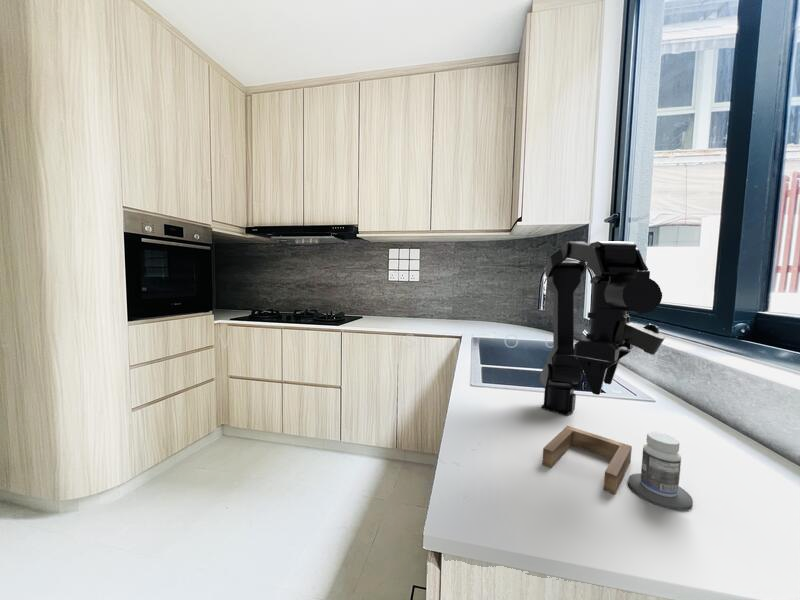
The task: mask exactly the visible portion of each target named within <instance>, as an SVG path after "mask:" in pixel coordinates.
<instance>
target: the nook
mask: <svg viewBox="0 0 800 600" xmlns="http://www.w3.org/2000/svg"><path fill="white" fill-rule="evenodd" d="M572 446H573V447H577V448H580V449H583V450H585V451H589V452H591V453H594V454H597V455H600V456H603V457H606V458H608V459H611V460H610V462H609V464H608V465H607V467H606V469H605V471H604V478H603V479H604V480H603V487H602V488H603V490H604V491H606V492H609V493H610V494H614V495H616V494H617V492H618V489H619V487H620V485H621V483H622V481H623V479H624V476H625V474H626V472H627V470H628V468H629V466H630V465H631V459H632V450H633V449H632V445H629V444H627V443H623V442H620V441H617V440H614V439H611V438H607V437H606V436H601V435H598V434H594V433H592V432H588V431H585V430H582V429H580V428H576V427H574V426H570V425H566V426H565V427H564V428H563V429H562V430H561V431H560V432H559V433H558V434H557V435H555V436H554V437H553V439H552V440H550V441H549V442H548V443H547V444H546V445H545V446H544V447H543V449H542V459H541V460H542V463H541V465H544V466H546V467H549V468H553V467H554V466H555V465H556V464H557V463H558V461H559V460H560V459H561V458H562V457H563V456H564V455H565V454H566V453H567V451H569V449H570V448H571V447H572Z"/></svg>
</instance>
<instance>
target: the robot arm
mask: <svg viewBox="0 0 800 600" xmlns="http://www.w3.org/2000/svg"><path fill="white" fill-rule="evenodd" d="M637 246H638V245H637V244H636V243H635V242H633V241H602V240H601V241H594V242H591V243H589V242H586V241H566V242H564V243H563V245H562V247H561V248H560V249H559V250H557V251H556V252H555V253H553V254H552V255H550V256H549V259H548V261H547V263H546V265H545V269H544V275H545V277H546V283H547V286H548V287H549V289H550V290H551V292H552V293H553V347H552V349H551V350H550V352H549V353H548V355H547V356H546V362H545V364H544V366H543V368H542V370H541V372H540V373H539V380H540V383H541V384H542V386H544V394H543V395H544V397H543V404H541V406H540V408H541V409H543V410H548V411H551V412H554V413H558V414H559V415H560V414H561V415H564V416H569V415H570V414H571V413H572V412H573V411H575V410H576V399H577V394H575V393H574V391H575V390H577V391H580V390H581V387H582V384H583V380H584V377H585V379H586V381H587V383H588V386H589V388H590V390H591V393H592V394H593V395H597V396H598V395H600V394H601V393H602V389H603V384H607V385H612V382H613V379H614V376H615V374H616V371H617V369H618V366H619V363H620V361H621V359H622V358H623V357H625V356H627V355H628V354H630V353H631V350H632V349H633V348H634V347H636V348H639V349H640V350H642V351H643V352H644V353H646V354H649V355H652V356H654V355H655V354H656V353H657V352H658V350H659V349H660V347H661V345H662V343H663V342H664V340H665V339H666V337H665V335H664V334H660V329H659V326H657V325H655V324H652V323H648V324H647V325H644V326H641V325H639V324H635V323H632V322H631V316H630V315H629V313H636V314H648V313H650V312H652V311H654V310H655V309H657V308H658V306H659V305H660V304H661V302H662V299H663V291H662V290H661V287H660V285H659V284H658V283H657V282H656V281H655V280H653V279H652V278H651V275H650V274H651V271H650V270H649V268H648V266H647V265H646V263H645V262H644V258H643V257H642V253H641V252H640V249H638V247H637ZM566 259H568V260H566ZM569 259H570V260H569ZM571 259H573V260H571ZM587 268H589V269H590V270H591V271H592V273H593V274H594V276H593V277H591V279H590V281H589V282H590V284H592V290H591V291H592V293H591V304H590V306H591V307H590V312H589V311H588V312H587V319H590V320H589V332H588V333H586V335H585V338H582V339H580V340H579V341H577V342H576V343H575V339H574V337H575V333H574V330H575V328H574V327H575V323H574V322H575V321H574V319H575V318H574V317H575V316H574V314H575V313H574V312H575V307H574V306H575V303H574V302H575V301H574V298H575V297H574V296H575V295H574V294H575V291H576V290H577V288H578V287H579V285H580V284H581V281H582V276H583V275H584V274H585V272H586V271H587ZM628 312H629V313H628ZM627 313H628V314H627ZM574 343H575V344H574ZM623 348H626V349H623Z"/></svg>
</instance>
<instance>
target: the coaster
mask: <svg viewBox="0 0 800 600" xmlns="http://www.w3.org/2000/svg"><path fill="white" fill-rule="evenodd" d="M627 483H628V486H629V488H630V489H631V490H632V492H633V493H635V494H637V495H638V496H639V497H641V498H642V499H644V500H646V501H648V502H650V503H652V504H655V505H658V506H659V507H663V508H666V509H671V510H676V511H685V510H689V509H691V508H692V507H693V497H692V496H691V494H689V492H688V491H686V490H685V489H683V488H682V487H681V486H679V487H678V494H677V495H676V496H674V497H665V496H661V495H658V494H656V493H654V492H651V491H650V490H648V489H646V488H645V487H644V486H643V485H642V484H641V473H633V474H630V475H629V476H628V478H627Z"/></svg>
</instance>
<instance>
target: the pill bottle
mask: <svg viewBox="0 0 800 600" xmlns="http://www.w3.org/2000/svg"><path fill="white" fill-rule="evenodd" d="M679 452H680V441H679V440H678V439H677V438H675V437H674V436H671V435H669V434H666V433H663V432H657V431H649V432H647V434H646V443H645V444H643V447H642V460H641V469H640V471H641V472H640V474H641V484H642V485H643V486H644V487H645V488H646V489H648V490H650V491H651V492H654V493H656V494H658V495H661V496H665V497H674V496H676V495H677V494H678V487H680V478H681V477H680V475H681V464H682V457H681V456H682V455H681V453H679Z"/></svg>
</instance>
